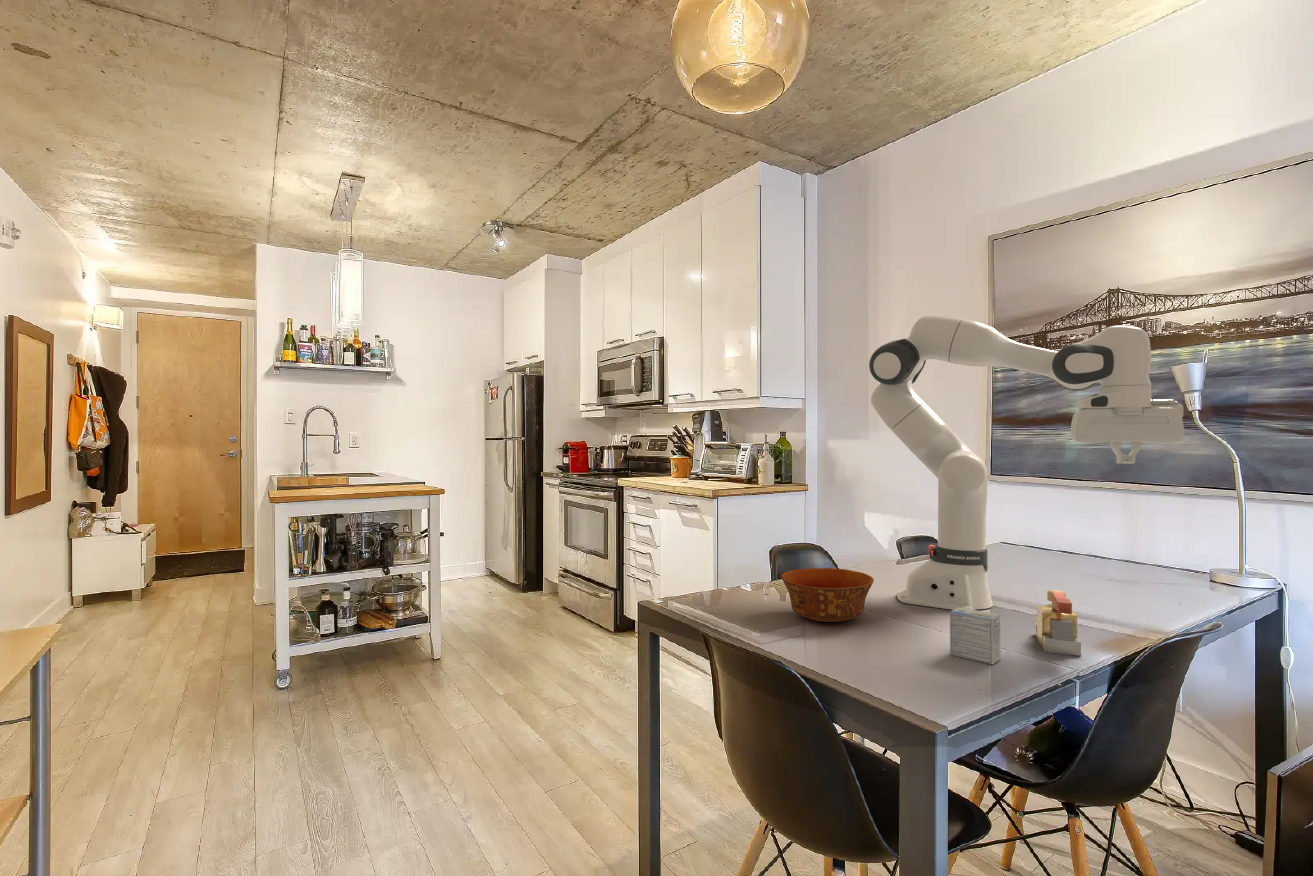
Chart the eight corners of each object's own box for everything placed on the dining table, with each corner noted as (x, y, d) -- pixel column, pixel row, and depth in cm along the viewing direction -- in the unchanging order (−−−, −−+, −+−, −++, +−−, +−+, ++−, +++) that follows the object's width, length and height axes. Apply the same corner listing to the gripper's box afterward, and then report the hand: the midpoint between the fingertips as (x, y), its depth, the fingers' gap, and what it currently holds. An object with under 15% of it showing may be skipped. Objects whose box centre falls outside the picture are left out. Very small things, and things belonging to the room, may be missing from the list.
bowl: (793, 633, 137) (793, 587, 137) (772, 606, 158) (772, 567, 158) (888, 632, 138) (888, 586, 138) (854, 606, 159) (854, 566, 159)
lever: (1046, 598, 131) (1046, 588, 131) (1064, 599, 130) (1064, 589, 130) (1055, 612, 120) (1055, 602, 120) (1075, 614, 119) (1075, 604, 119)
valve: (1080, 656, 122) (1080, 610, 122) (1045, 652, 125) (1045, 607, 125) (1067, 637, 134) (1067, 596, 134) (1034, 634, 136) (1034, 593, 136)
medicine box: (1001, 660, 120) (1001, 614, 120) (993, 665, 117) (993, 619, 117) (958, 650, 126) (958, 606, 126) (949, 655, 123) (949, 610, 123)
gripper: (1176, 400, 138) (1176, 463, 138) (1068, 401, 144) (1068, 462, 144) (1190, 398, 132) (1190, 464, 132) (1076, 400, 138) (1076, 463, 138)
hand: (1125, 463), depth 138 cm, fingers closed
